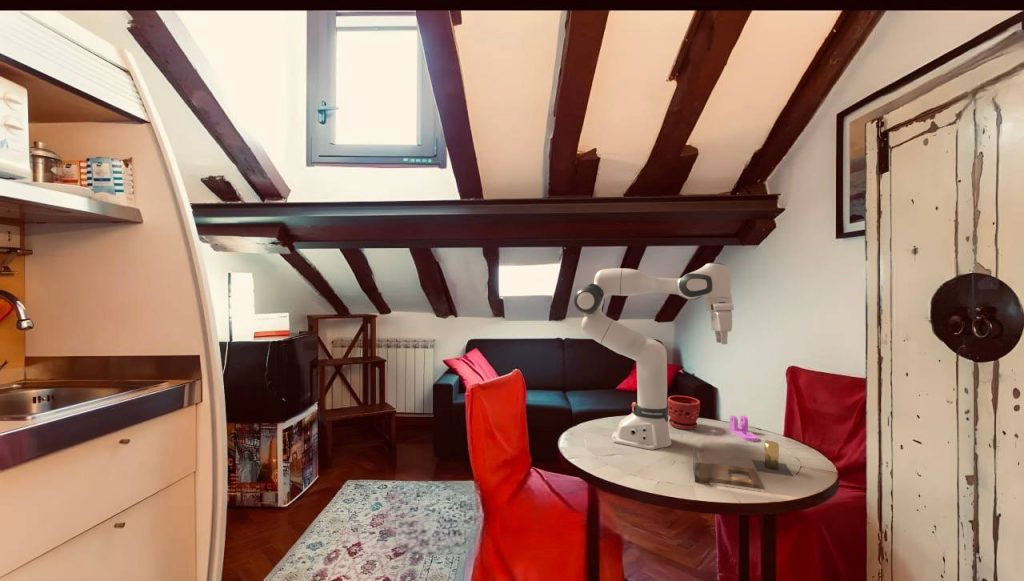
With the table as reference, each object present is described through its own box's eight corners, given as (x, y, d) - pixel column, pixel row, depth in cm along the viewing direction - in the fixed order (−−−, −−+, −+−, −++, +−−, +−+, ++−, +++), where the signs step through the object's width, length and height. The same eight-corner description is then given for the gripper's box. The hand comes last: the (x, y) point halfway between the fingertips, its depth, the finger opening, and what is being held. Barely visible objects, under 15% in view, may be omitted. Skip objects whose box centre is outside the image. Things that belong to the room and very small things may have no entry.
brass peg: (765, 468, 138) (765, 444, 138) (763, 464, 141) (763, 440, 141) (780, 470, 136) (780, 446, 136) (777, 465, 140) (777, 441, 140)
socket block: (694, 482, 131) (694, 462, 131) (693, 466, 142) (693, 449, 142) (761, 491, 124) (761, 471, 124) (754, 475, 135) (754, 456, 135)
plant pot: (665, 428, 181) (665, 400, 181) (669, 420, 192) (669, 394, 192) (698, 433, 175) (698, 404, 175) (701, 424, 186) (701, 397, 186)
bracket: (729, 430, 178) (729, 414, 178) (743, 431, 178) (743, 414, 178) (746, 442, 165) (746, 424, 165) (760, 442, 165) (760, 424, 165)
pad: (757, 474, 136) (757, 471, 136) (751, 462, 145) (751, 459, 145) (793, 479, 132) (793, 476, 132) (785, 466, 142) (785, 463, 142)
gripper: (705, 306, 168) (708, 341, 167) (714, 305, 148) (717, 345, 147) (723, 306, 166) (725, 341, 165) (734, 305, 146) (737, 345, 145)
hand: (721, 343), depth 156 cm, fingers open, 8 cm apart
